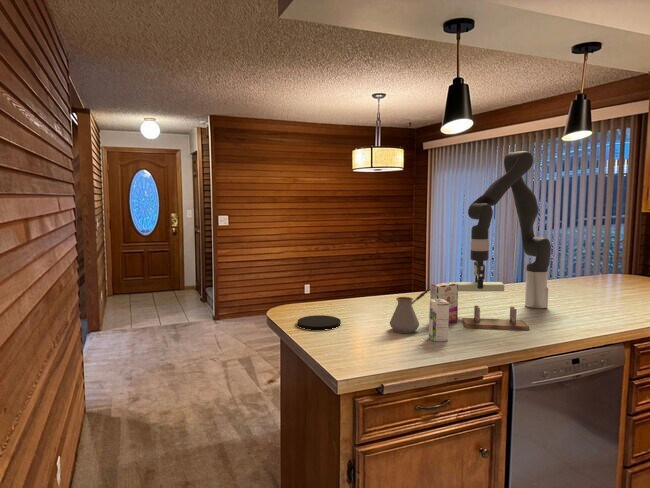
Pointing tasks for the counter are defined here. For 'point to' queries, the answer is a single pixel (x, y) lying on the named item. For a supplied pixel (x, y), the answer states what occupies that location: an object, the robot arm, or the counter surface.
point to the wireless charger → (319, 322)
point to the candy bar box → (447, 297)
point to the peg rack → (495, 321)
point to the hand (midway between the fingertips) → (478, 286)
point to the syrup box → (438, 320)
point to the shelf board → (486, 286)
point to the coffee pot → (405, 315)
